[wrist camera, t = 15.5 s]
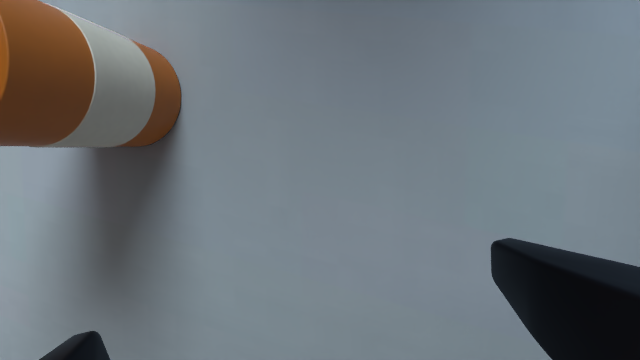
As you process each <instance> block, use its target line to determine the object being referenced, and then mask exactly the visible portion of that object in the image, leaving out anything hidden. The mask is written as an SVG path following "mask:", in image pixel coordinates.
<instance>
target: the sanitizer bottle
mask: <svg viewBox="0 0 640 360" xmlns="http://www.w3.org/2000/svg"><path fill="white" fill-rule="evenodd" d="M180 104H181V90H180V84H179V81H178V78H177V75H176V73H175V71H174V69H173V68H172V66H171V64H170V63H169V62H168V61H167V60H166V59H165V58H164V57H163V56H162V55H161V54H160V53H158V52H157V51H155V50H153V49H151V48H149V47H146V46H144V45H142V44H139V43H137V42H135V41H132V40H130V39H128V38H127V37H125V36H123V35H121V34H118V33H116V32H114V31H111V30H109V29H107V28H104V27H102V26H100V25H97V24H95V23H93V22H90V21H88V20H86V19H83V18H81V17H79V16H76V15H74V14H72V13H69V12H67V11H65V10H62V9H60V8H58V7H55V6H53V5H50V4H47V3H43V2H40V1H38V0H0V146H29V147H138V146H146V145H149V144H152V143H154V142H156V141H158V140H160V139H161V138H162V137H164V136H165V135H166V134H167V133H168V132H169V130H170V129H171V128H172V126H173V125H174V123H175V121H176V119H177V116H178V114H179V110H180Z"/></svg>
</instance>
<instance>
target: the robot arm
mask: <svg viewBox="0 0 640 360" xmlns="http://www.w3.org/2000/svg"><path fill="white" fill-rule="evenodd" d="M491 272H492V277H493V280H494V282H495V283H496V285H497V286H498V288H499V289H500V291H501V292H502V293H503V295H504V296H505V298H506V299H507V301H508V302H509V304H510V305H511V306H512V308H513V309H514V311H515V312H516V314H517V315H518V316H519V318H520V319H521V321H522V322H523V324H524V325H525V327H526V328H527V329H528V331H529V332H530V333H531V335H532V336H533V337H534V339H535V340H536V341H537V342H538V343H539V345H540V346H541V347H542V348H543V349H544V351H545V352H546V353H547V354H548V355H549V356H550V358H551V359H552V360H640V267H637V266H633V265H629V264H624V263H620V262H615V261H611V260H606V259H602V258H597V257H593V256H588V255H584V254H580V253H575V252H571V251H566V250H562V249H557V248H553V247H548V246H544V245H539V244H535V243H531V242H526V241H522V240H517V239H513V238H506V239H502V240H497V241H494V242H493V243H492V245H491ZM39 360H110V358H109V355H108V353H107V351H106V348H105V346H104V343H103V341H102V338H101V336H100V334H99V333H98V332H96V331H90V332H85V333H81V334H77V335H74V336H72V337H71V338H69V339H68V340H67V341H65V342H64V343H62V344H61V345H59V346H58V347H57V348H55V349H54V350H52V351H51V352H49V353H48V354H46V355H45V356H44V357H42V358H41V359H39Z"/></svg>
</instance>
